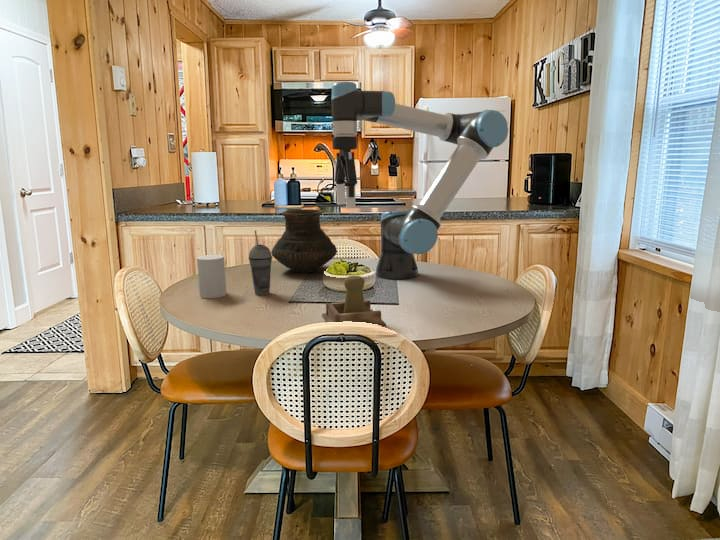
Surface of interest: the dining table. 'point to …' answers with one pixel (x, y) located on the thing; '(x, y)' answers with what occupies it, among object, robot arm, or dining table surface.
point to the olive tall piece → (354, 294)
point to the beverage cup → (260, 268)
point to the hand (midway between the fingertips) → (345, 206)
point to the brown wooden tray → (352, 314)
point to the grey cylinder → (211, 276)
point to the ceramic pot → (303, 242)
